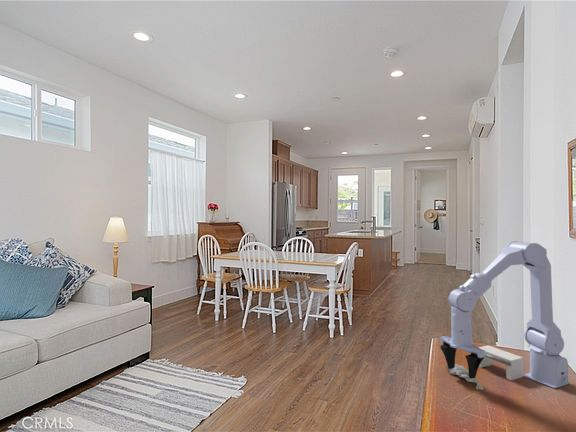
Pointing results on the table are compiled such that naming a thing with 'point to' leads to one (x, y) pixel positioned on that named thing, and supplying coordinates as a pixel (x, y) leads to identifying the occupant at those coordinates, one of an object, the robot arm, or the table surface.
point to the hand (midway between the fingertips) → (461, 372)
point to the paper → (463, 374)
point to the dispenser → (503, 361)
